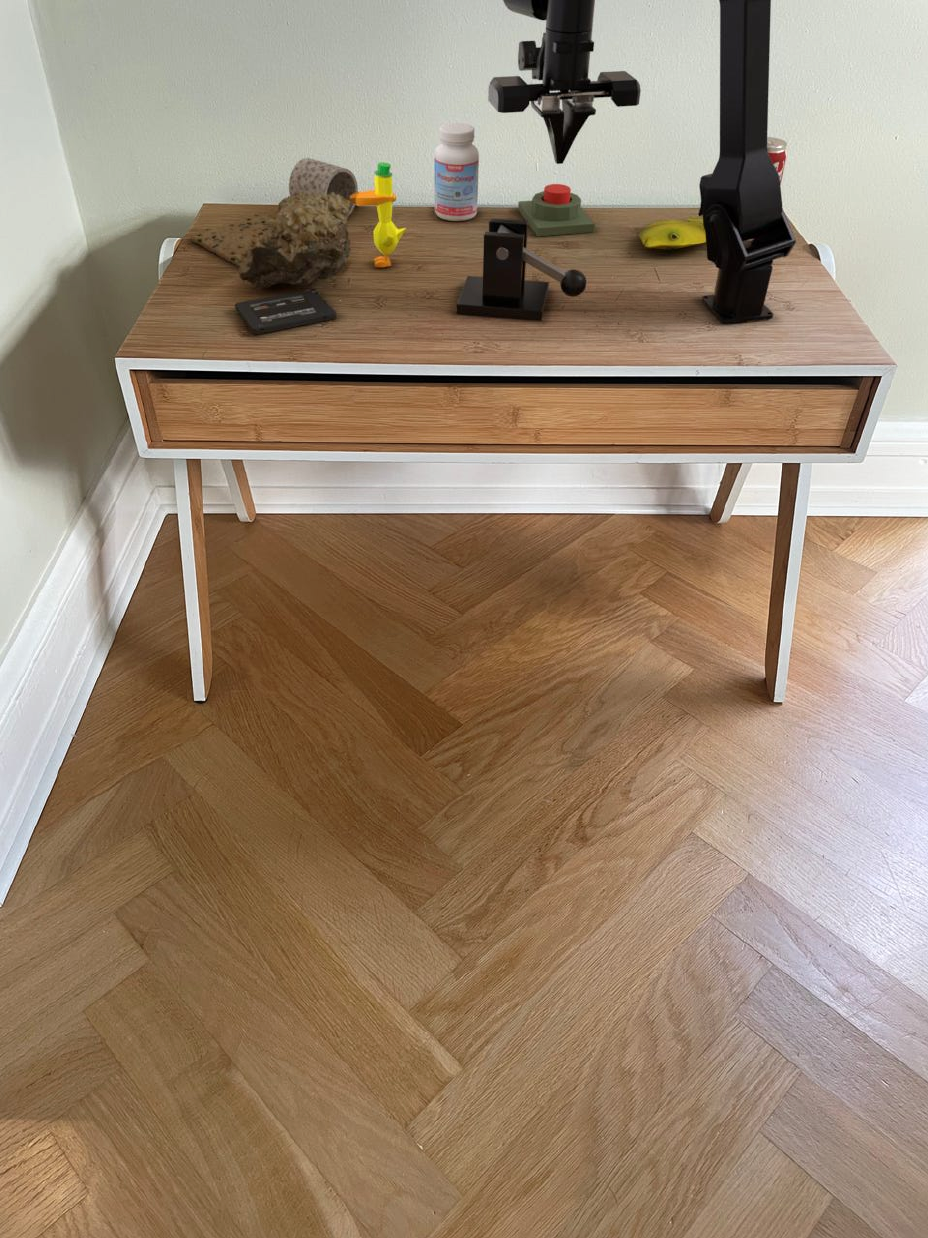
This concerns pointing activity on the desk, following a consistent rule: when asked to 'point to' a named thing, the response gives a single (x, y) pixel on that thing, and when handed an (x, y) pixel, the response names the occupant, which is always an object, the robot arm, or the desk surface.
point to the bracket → (504, 278)
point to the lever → (554, 271)
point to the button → (557, 194)
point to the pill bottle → (456, 173)
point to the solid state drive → (284, 311)
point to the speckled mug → (322, 180)
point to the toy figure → (381, 213)
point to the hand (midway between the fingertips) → (558, 162)
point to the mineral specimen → (299, 242)
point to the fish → (673, 234)
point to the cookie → (233, 236)
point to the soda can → (776, 157)
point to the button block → (555, 216)
